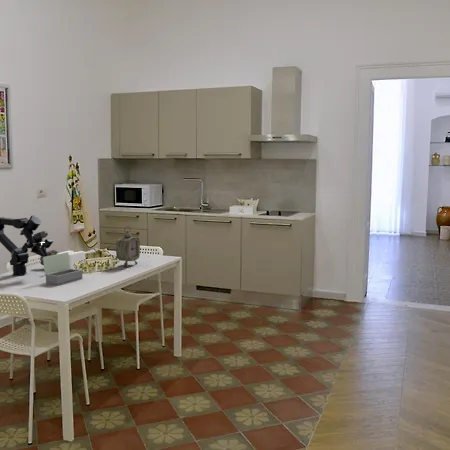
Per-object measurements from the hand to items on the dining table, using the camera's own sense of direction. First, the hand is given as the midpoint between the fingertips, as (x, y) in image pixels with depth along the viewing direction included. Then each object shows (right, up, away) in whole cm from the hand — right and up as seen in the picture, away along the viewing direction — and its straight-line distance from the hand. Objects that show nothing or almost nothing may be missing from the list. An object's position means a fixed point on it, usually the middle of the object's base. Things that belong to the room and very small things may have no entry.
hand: (45, 256), depth 301 cm
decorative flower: (-6, -9, +32) cm, 34 cm away
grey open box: (+12, -13, -5) cm, 19 cm away
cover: (+8, -3, -4) cm, 9 cm away
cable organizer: (+8, -10, +22) cm, 26 cm away
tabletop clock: (+39, -8, +38) cm, 55 cm away
